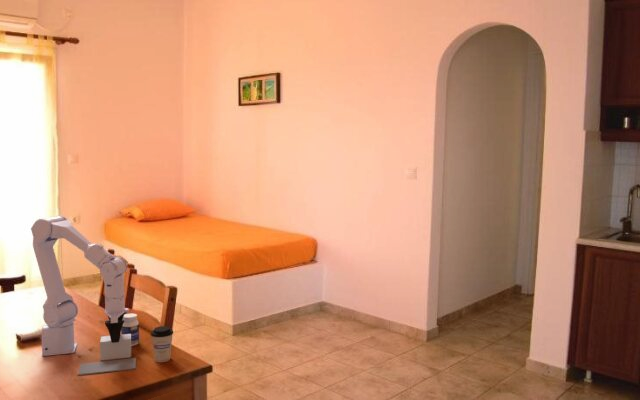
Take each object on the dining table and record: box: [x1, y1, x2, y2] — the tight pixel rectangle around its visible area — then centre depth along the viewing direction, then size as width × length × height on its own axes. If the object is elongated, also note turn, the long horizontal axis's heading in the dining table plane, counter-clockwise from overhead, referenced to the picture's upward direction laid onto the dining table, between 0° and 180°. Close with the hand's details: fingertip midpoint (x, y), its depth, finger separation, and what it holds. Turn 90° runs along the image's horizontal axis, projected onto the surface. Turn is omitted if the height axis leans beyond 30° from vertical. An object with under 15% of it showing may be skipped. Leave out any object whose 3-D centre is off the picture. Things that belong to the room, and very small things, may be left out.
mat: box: [77, 357, 137, 377], centre depth 163 cm, size 16×8×1 cm, turn 108°
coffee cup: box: [150, 325, 174, 363], centre depth 169 cm, size 7×7×10 cm
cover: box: [99, 334, 132, 361], centre depth 172 cm, size 9×5×6 cm, turn 108°
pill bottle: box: [120, 313, 140, 347], centre depth 182 cm, size 6×6×10 cm
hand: (116, 338), depth 171 cm, fingers open, 7 cm apart
